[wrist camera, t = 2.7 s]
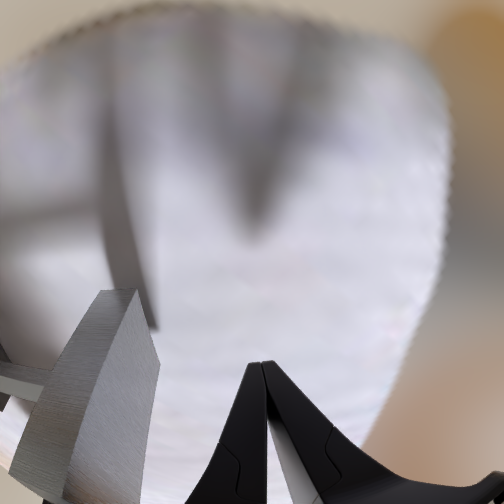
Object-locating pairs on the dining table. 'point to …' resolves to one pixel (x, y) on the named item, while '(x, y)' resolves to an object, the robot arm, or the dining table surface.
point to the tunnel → (0, 397)
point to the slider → (89, 408)
